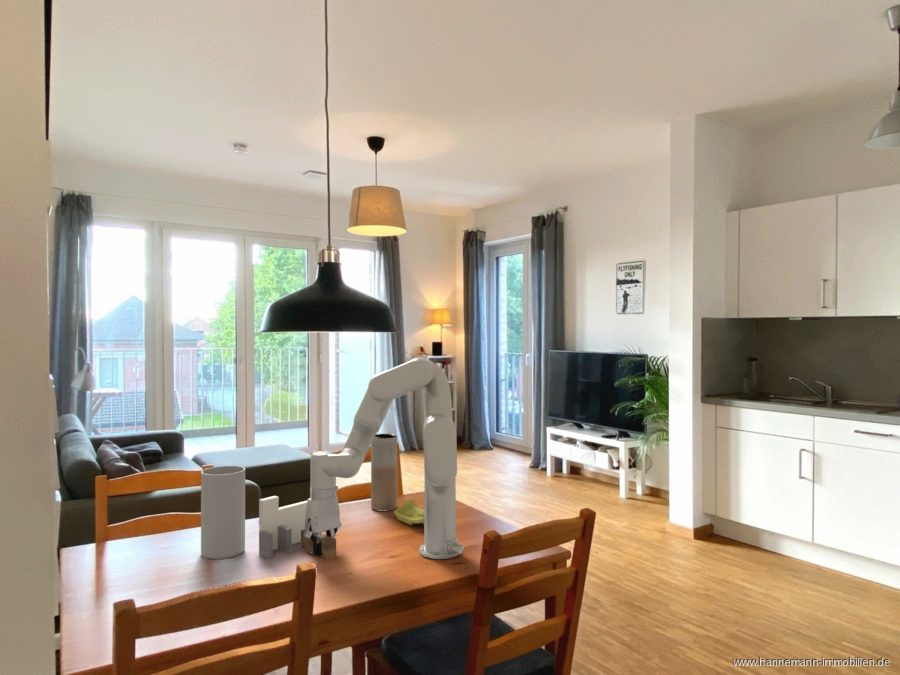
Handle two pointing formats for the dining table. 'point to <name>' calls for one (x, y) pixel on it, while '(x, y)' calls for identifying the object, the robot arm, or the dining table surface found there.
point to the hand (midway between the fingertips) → (323, 552)
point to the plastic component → (410, 513)
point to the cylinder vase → (222, 512)
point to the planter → (384, 472)
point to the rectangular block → (326, 545)
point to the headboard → (279, 525)
